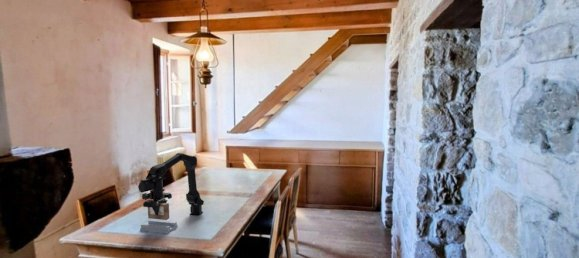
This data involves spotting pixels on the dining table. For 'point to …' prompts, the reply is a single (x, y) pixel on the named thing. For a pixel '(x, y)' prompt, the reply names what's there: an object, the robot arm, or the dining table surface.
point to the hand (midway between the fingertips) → (158, 214)
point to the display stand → (159, 226)
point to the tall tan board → (162, 213)
